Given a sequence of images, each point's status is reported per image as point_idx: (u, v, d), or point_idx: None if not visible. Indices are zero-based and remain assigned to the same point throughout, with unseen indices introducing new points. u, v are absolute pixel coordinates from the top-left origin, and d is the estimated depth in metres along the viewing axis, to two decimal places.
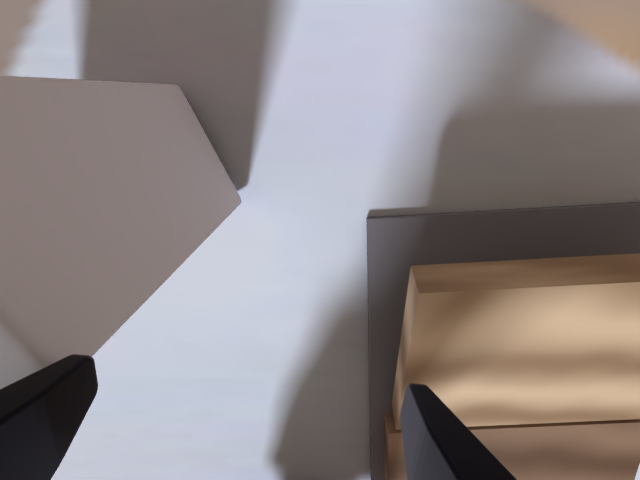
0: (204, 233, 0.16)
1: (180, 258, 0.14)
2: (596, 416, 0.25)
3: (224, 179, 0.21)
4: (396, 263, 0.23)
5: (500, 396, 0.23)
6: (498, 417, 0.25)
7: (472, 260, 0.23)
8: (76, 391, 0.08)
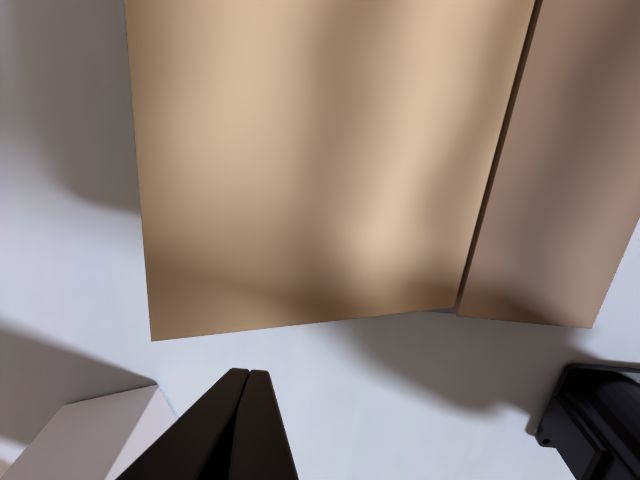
0: (103, 471, 0.18)
1: None
2: None
3: (128, 398, 0.23)
4: None
5: (405, 188, 0.15)
6: (465, 175, 0.16)
7: None
8: None
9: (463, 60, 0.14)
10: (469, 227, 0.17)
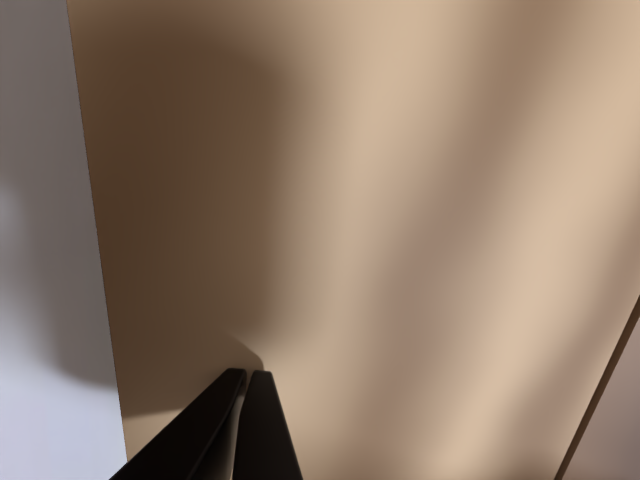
0: None
1: None
2: None
3: None
4: None
5: (489, 415, 0.11)
6: (569, 388, 0.12)
7: None
8: (240, 405, 0.08)
9: (583, 268, 0.10)
10: (567, 438, 0.13)
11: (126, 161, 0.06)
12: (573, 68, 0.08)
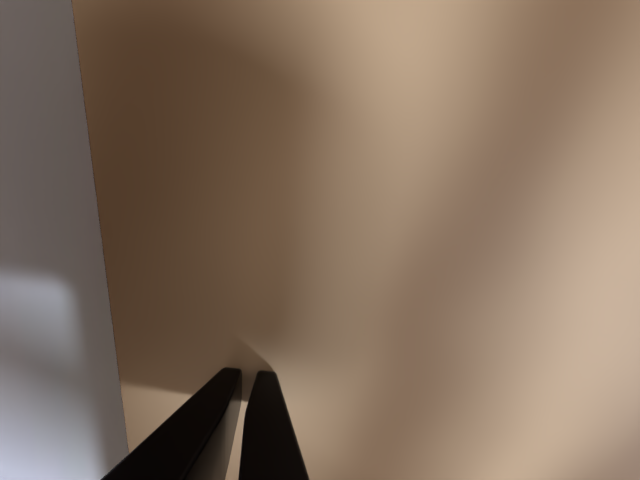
0: None
1: None
2: None
3: None
4: None
5: None
6: None
7: None
8: (235, 404, 0.08)
9: None
10: None
11: (122, 154, 0.07)
12: None
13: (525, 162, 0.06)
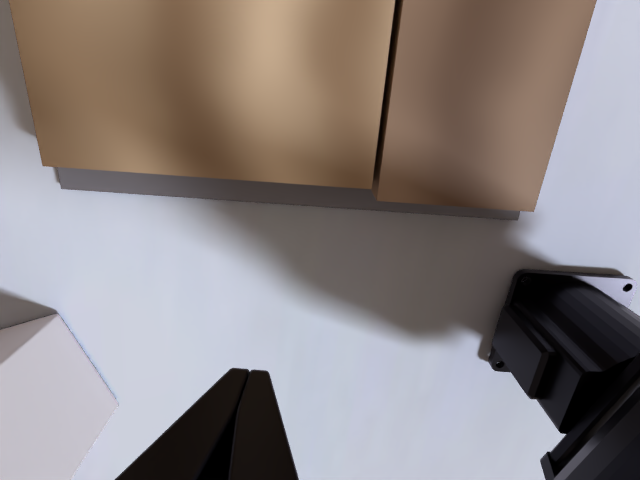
0: None
1: None
2: None
3: (22, 328, 0.20)
4: None
5: (281, 19, 0.14)
6: (360, 7, 0.14)
7: None
8: None
9: None
10: (378, 80, 0.14)
11: None
12: None
13: None
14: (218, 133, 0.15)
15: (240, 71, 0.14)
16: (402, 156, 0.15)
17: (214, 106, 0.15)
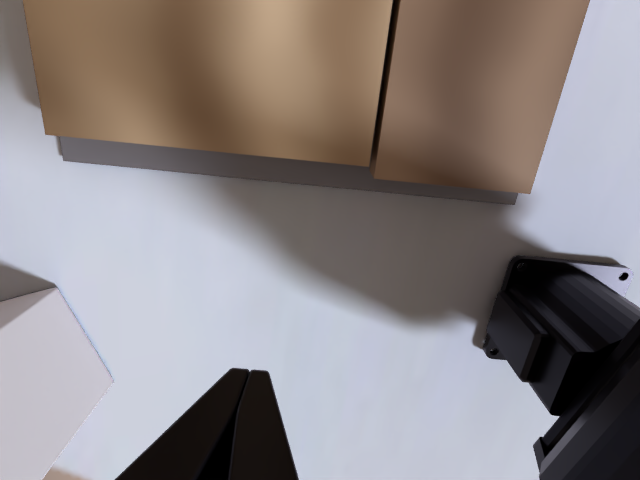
0: None
1: None
2: None
3: (21, 300, 0.20)
4: None
5: None
6: None
7: None
8: None
9: None
10: (377, 56, 0.15)
11: None
12: None
13: None
14: (218, 106, 0.15)
15: (242, 44, 0.15)
16: (400, 134, 0.16)
17: (215, 78, 0.15)
